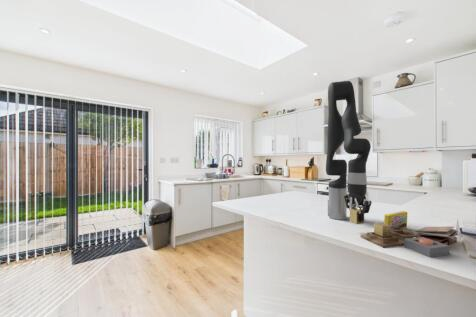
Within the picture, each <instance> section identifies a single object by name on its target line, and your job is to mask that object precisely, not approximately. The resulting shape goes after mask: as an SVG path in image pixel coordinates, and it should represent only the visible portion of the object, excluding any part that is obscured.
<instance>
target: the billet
mask: <svg viewBox="0 0 476 317" xmlns="http://www.w3.org/2000/svg"><path fill="white" fill-rule="evenodd" d="M361 211H362V209H361ZM358 213H359V212H358V208H357V207H356V208H351V209H350V210H349V222H350V223H353V224H354V225H362V224H365V220H364V221H363V222H359V221H358Z"/></svg>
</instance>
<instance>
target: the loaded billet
mask: <svg viewBox="0 0 476 317" xmlns="http://www.w3.org/2000/svg"><path fill="white" fill-rule="evenodd" d="M373 232H374V235H376V236H379V237H381V238H388V237H391V225H388V224H385V223H384V222H374V223H373Z"/></svg>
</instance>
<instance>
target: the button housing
mask: <svg viewBox="0 0 476 317" xmlns="http://www.w3.org/2000/svg"><path fill="white" fill-rule="evenodd" d="M419 238H426V239H428V238H427V237H424V236H420V237H416V238H406V239H404V245H403V248H406V249H409V250H412V251H413V252H416V253H419V254H421V255H424V256H426V257H428V258H434V257H435V258H436V257H442V256H449V255H450V254H451V253H450V252H451V249H450V245H448V244H446V243H442V242H440V241H436V240H433V239H431V240H432V241H433V245H429V246H428V245H425V244H422V243H419Z"/></svg>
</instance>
